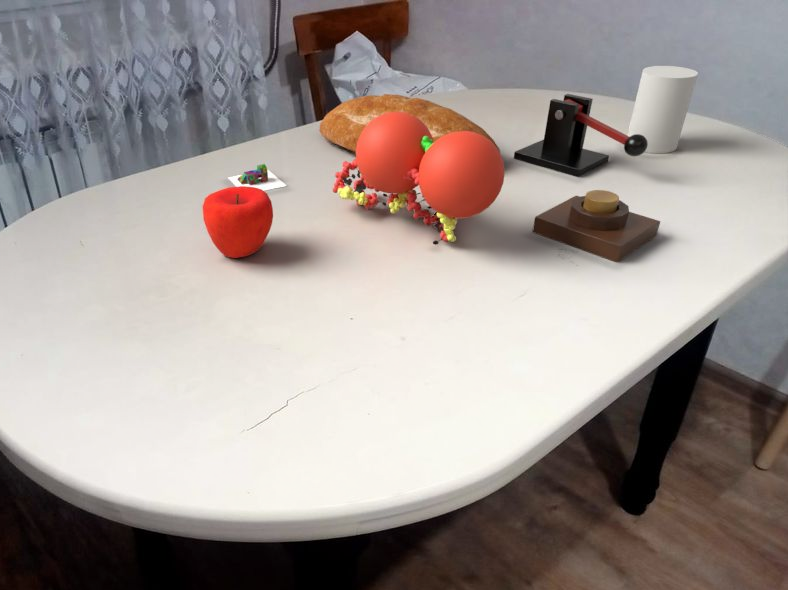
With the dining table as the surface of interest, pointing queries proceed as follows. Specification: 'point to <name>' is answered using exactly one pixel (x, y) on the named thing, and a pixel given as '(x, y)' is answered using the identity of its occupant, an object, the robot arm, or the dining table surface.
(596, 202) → the bell button
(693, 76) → the cup
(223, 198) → the apple
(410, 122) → the molecule
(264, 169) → the white tray with figurine
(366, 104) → the bread
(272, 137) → the dining table surface
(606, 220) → the push button box
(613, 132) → the red lever
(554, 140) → the lever base
